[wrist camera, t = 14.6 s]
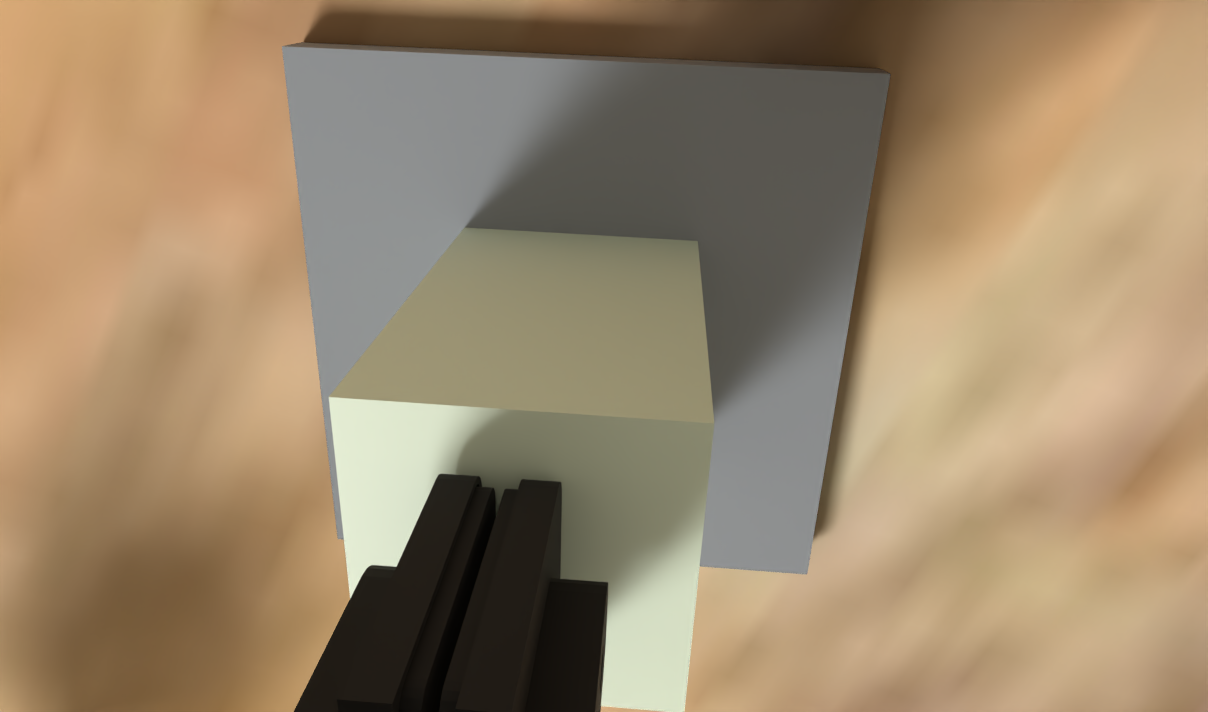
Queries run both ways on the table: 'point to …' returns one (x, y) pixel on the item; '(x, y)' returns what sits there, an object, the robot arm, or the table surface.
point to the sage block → (550, 423)
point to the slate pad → (611, 223)
